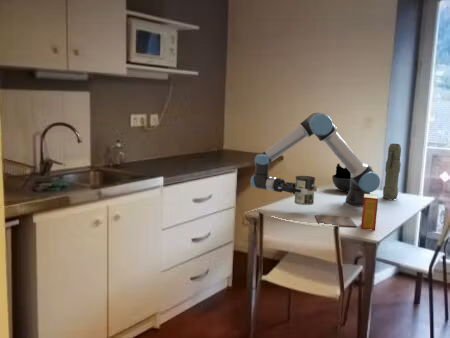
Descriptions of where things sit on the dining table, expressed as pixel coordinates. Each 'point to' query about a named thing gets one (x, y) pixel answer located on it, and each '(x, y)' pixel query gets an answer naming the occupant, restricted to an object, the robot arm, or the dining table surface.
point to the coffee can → (305, 183)
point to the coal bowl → (342, 178)
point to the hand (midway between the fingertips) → (311, 190)
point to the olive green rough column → (392, 172)
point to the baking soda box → (369, 211)
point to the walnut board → (336, 220)
